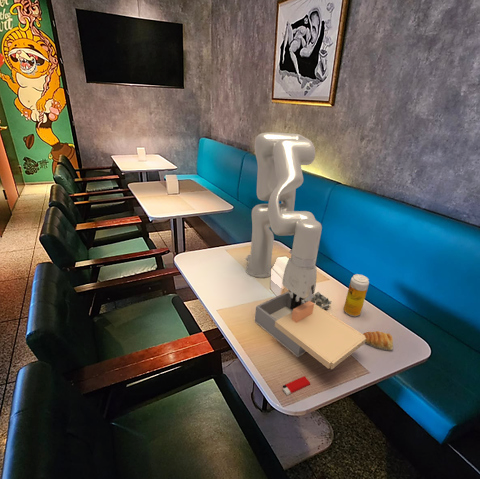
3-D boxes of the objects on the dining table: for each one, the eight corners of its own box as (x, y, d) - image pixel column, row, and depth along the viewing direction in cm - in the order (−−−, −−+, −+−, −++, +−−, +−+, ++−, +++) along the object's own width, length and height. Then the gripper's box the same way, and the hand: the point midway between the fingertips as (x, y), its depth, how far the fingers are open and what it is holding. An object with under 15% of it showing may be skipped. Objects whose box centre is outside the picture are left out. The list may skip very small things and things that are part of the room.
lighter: (310, 382, 83) (286, 393, 79) (309, 386, 83) (286, 397, 80) (304, 375, 85) (280, 385, 81) (303, 378, 85) (280, 388, 82)
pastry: (362, 347, 98) (365, 338, 96) (359, 333, 104) (361, 324, 102) (393, 352, 96) (396, 343, 95) (388, 338, 102) (391, 329, 101)
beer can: (339, 309, 115) (348, 275, 109) (352, 305, 118) (361, 272, 111) (351, 318, 110) (360, 284, 104) (363, 315, 113) (373, 281, 106)
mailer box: (254, 321, 106) (256, 306, 103) (285, 305, 115) (288, 291, 112) (297, 357, 92) (300, 340, 89) (329, 336, 101) (333, 320, 98)
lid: (274, 326, 96) (276, 310, 93) (310, 306, 106) (313, 292, 104) (330, 370, 81) (334, 353, 79) (365, 342, 92) (370, 326, 89)
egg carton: (313, 318, 110) (315, 309, 108) (298, 307, 115) (299, 298, 114) (332, 308, 116) (334, 299, 114) (317, 298, 121) (318, 289, 119)
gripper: (277, 252, 95) (271, 300, 103) (315, 273, 85) (305, 325, 92) (293, 247, 99) (286, 293, 107) (331, 266, 89) (320, 316, 97)
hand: (295, 308), depth 100 cm, fingers closed
